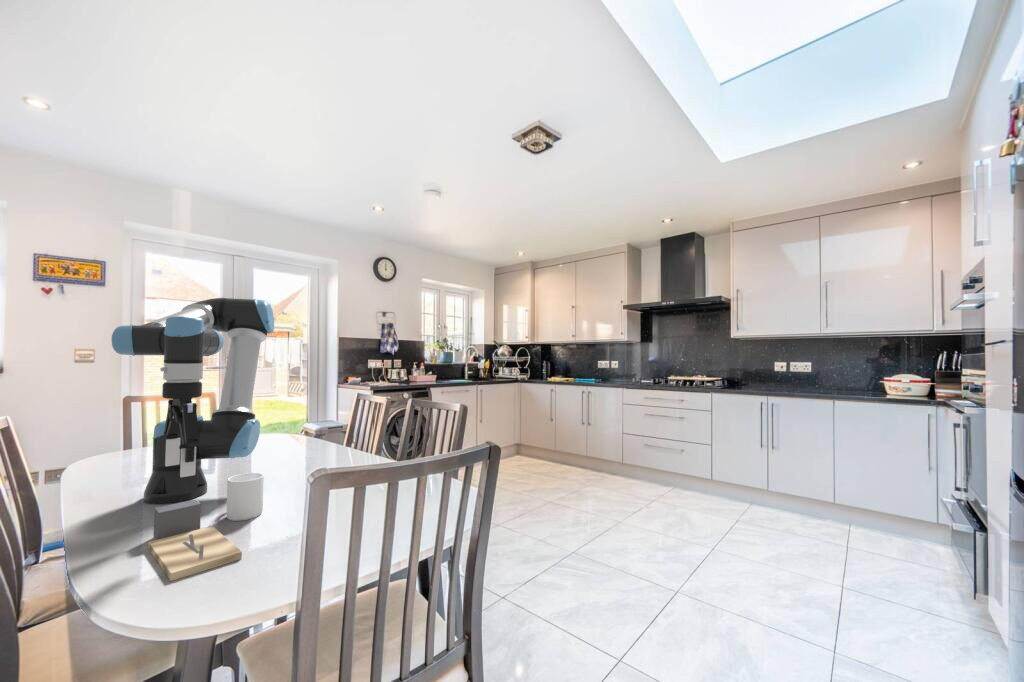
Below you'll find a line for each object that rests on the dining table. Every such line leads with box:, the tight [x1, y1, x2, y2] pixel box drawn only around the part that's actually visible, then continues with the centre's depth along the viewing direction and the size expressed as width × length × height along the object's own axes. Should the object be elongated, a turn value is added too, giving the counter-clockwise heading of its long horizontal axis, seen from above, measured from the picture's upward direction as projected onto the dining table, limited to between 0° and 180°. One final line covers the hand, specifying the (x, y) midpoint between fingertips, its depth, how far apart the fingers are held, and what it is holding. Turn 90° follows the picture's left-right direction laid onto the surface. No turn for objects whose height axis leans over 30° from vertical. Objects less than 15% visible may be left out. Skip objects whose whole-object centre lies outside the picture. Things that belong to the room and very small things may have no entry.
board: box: [147, 525, 243, 582], centre depth 93 cm, size 20×12×2 cm, turn 50°
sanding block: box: [153, 499, 202, 541], centre depth 102 cm, size 4×8×7 cm, turn 140°
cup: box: [226, 472, 265, 522], centre depth 116 cm, size 8×12×10 cm
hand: (179, 470), depth 103 cm, fingers open, 13 cm apart
